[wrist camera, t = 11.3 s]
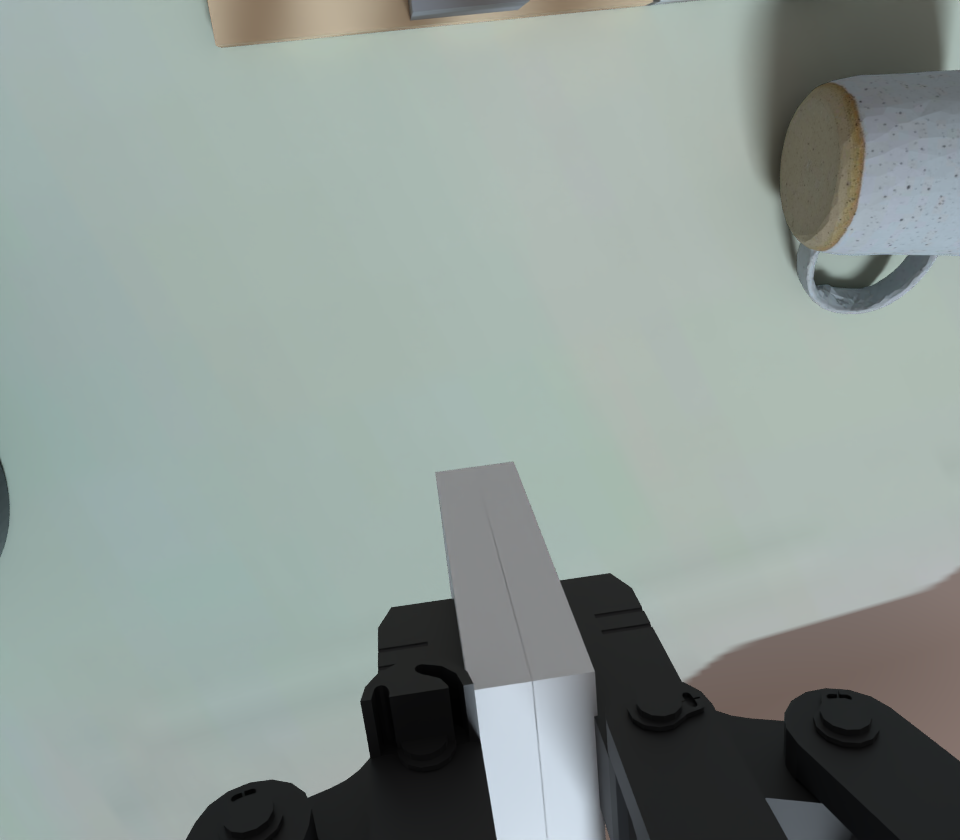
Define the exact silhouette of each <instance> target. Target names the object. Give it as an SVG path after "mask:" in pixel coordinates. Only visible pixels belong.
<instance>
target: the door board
mask: <svg viewBox="0 0 960 840" xmlns="http://www.w3.org/2000/svg"><path fill="white" fill-rule="evenodd" d="M207 1H208V6H209V12H210V17H211V22H212V27H213V33H214V38H215V43H216V46H218V47H221V48H223V47H234V46H244V45H254V44H264V43H274V42H284V41H294V40H304V39H314V38H324V37H334V36H344V35H354V34H364V33H375V32H385V31H395V30H405V29H415V28H425V27H435V26H445V25H455V24H465V23H475V22H485V21H495V20H505V19H516V18H526V17H536V16H546V15H556V14H566V13H576V12H586V11H596V10H606V9H616V8H626V7H636V6H647V5H657V4H667V3H677V2H687V1H697V0H207Z"/></svg>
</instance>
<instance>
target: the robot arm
mask: <svg viewBox="0 0 960 840" xmlns="http://www.w3.org/2000/svg"><path fill="white" fill-rule="evenodd" d="M435 473H436V480H437V488H438V496H439V504H440V512H441V519H442V527H443V535H444V543H445V551H446V558H447V566H448V574H449V582H450V590H451V597H452V599H446V600H439V601H432V602H425V603H419V604H412V605H405V606H398V607H391V609H390V610H389V612H388V614H387V615H386V617H385V618H384V620H383V621H382V623H381V624H380V626H379V627H378V652H379V653H378V674H377V675H376V676H375V677H374V678H373V679H372V680H371V681H370V682H369V684H368V685H367V686H366V687H365V689H364V692H363V695H362V698H361V701H360V702H361V707H362V713H363V718H364V724H365V730H366V735H367V741H368V746H369V752H370V759H369V760H368V761H367V762H366V763H365V764H364V765H363V767H362V768H361V769H360V770H359V771H358V772H356V773H355V774H354V775H352V776H351V777H350V778H348V779H347V780H345V781H344V782H342V783H340V784H338V785H336V786H334V787H332V788H330V789H328V790H325V791H323V792H320V793H318V794H316V795H313V796H311V797H309V798H307V796H306V793H305V792H303V791H302V790H300V789H299V788H298V787H296V786H295V785H293V784H292V783H288V782H282V781H277V780H266V781H258V782H251V783H248V784H245V785H243V786H241V787H238V788H236V789H233V790H231V791H228V792H227V793H225V794H224V795H223V796H221V797H220V798H219V799H217V800H216V801H214V802H213V803H212V804H210V805H209V806H208V807H207V808H206V810H205V811H204V812H203V814H202V815H201V816H200V817H199V819H198V820H197V821H196V822H195V824H194V826H193V828H192V829H191V831H190V833H189V835H188V837H187V838H186V840H606V838H605V824H606V827H607V831H608V834H609V837H610V840H960V761H959V760H957V759H956V758H955V757H953V756H952V755H951V754H950V753H948V752H947V751H946V750H945V749H943V748H942V747H941V746H939V745H938V744H937V743H936V742H934V741H933V740H932V739H930V738H929V737H928V736H926V735H925V734H924V733H923V732H921V731H920V730H919V729H917V728H916V727H915V726H914V725H912V724H911V723H910V722H908V721H907V720H906V719H904V718H903V717H902V716H901V715H899V714H898V713H896V712H895V711H894V710H893V709H892V708H890V707H888V706H887V705H885V704H883V703H881V702H880V701H878V700H876V699H874V698H872V697H871V696H867V695H864V694H860V693H857V692H854V691H851V690H843V689H827V688H826V689H820V690H815V691H809V692H805V693H804V694H802V695H801V696H799V697H797V698H795V699H794V700H792V701H791V703H790V704H789V706H788V708H787V710H786V712H785V717H784V721H776V720H763V719H750V718H743V717H736V716H731V715H728V714H725V713H722V712H718V711H716V710H715V708H714V706H713V705H712V703H711V702H710V701H709V700H708V699H707V698H706V697H705V695H703V693H702V692H701V691H699V690H697V689H695V688H693V687H691V686H689V685H688V684H686V683H684V682H682V681H681V679H680V678H679V676H678V674H677V672H676V670H675V668H674V666H673V664H672V663H671V661H670V659H669V657H668V655H667V653H666V651H665V649H664V648H663V646H662V644H661V642H660V640H659V638H658V636H657V635H656V633H655V631H654V629H653V627H651V624H650V621H649V620H648V618H647V616H646V614H645V612H644V611H642V606H641V605H640V603H639V601H638V599H637V597H636V595H635V593H634V591H633V590H632V588H631V587H629V586H628V585H627V584H625V583H624V582H622V581H621V580H619V579H618V578H616V577H615V576H613V575H612V574H611V573H608V574H601V575H595V576H588V577H581V578H574V579H567V580H559V578H558V575H557V572H556V570H555V567H554V565H553V562H552V560H551V557H550V554H549V552H548V549H547V547H546V544H545V541H544V539H543V536H542V534H541V531H540V529H539V526H538V523H537V521H536V518H535V516H534V513H533V510H532V508H531V505H530V503H529V500H528V498H527V495H526V492H525V490H524V487H523V485H522V482H521V479H520V477H519V474H518V472H517V469H516V467H515V464H514V462H507V463H500V464H493V465H485V466H478V467H471V468H463V469H456V470H448V471H441V472H435ZM9 516H10V513H9V496H8V489H7V484H6V480H5V476H4V473H3V470H2V467H1V464H0V556H1V554H2V551H3V548H4V546H5V542H6V538H7V533H8V527H9ZM604 821H605V822H604Z"/></svg>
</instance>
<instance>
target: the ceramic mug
mask: <svg viewBox="0 0 960 840" xmlns="http://www.w3.org/2000/svg"><path fill="white" fill-rule="evenodd" d="M780 196H781V202H782V208H783V212H784V215H785V218H786V222H787V224H788V226H789V228H790V229H791V231H792V233H793V235H794V236H795V237H796V238H797V239H798V240H799V241H800V242H801V244H800V246H799V249H798V253H797V273H798V276H799V280H800V282H801V284H802V286H803V288H804V290H805V291H806V293H807V294H808V295H809V297H810V298H811V299H812V300H813V301H814V302H815V303H816V304H818V305H819V306H820V307H822V308H824V309H826V310H829V311H832V312H836V313H843V314H858V313H866V312H870V311H874V310H877V309H880V308H882V307H885V306H887V305H889V304H891V303H892V302H894V301H896V300H897V299H899V298H900V297H901V296H903V295H904V294H905V293H907V292H908V291H909V290H910V289H912V288H913V287H914V286H915V285H916V284H917V283H918V282H919V281H920V279H921V278H922V277H923V276H924V275H925V274H926V273H927V271H928V270H929V269H930V267H931V266H932V264H933V263H934V261H935V260H936V258H937V257H938V255H951V256H960V70H951V71H928V72H916V73H902V74H878V75H858V76H853V77H848V78H844V79H839V80H834V81H830V82H828V83H825V84H822V85H820V86H818V87H817V88H815V89H814V90H813V91H812V92H811V93H810V94H809V95H808V96H807V97H806V98H805V99H804V100H803V102H802V103H801V104H800V106H799V107H798V108H797V110H796V112H795V114H794V116H793V118H792V119H791V121H790V124H789V127H788V130H787V132H786V136H785V141H784V146H783V151H782V156H781V167H780ZM819 252H825V253H831V254H837V255H879V254H895V255H908V256H907V257H906V258H905V260H904V261H903V262H902V263H901V264H900V265H899V266H898V267H897V268H896V269H895V270H894V271H893V272H892V273H891V274H889V275H888V276H887V277H885V278H884V279H882V280H880V281H879V282H877V283H876V284H874V285H872V286H867V287H864V288H862V289H861V288H859V289H852V288H836V287H831V286H830V285H829V284H824V285H815V282H814V279H813V277H814V269H815V264H816V262H817V257H818V254H819Z"/></svg>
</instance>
